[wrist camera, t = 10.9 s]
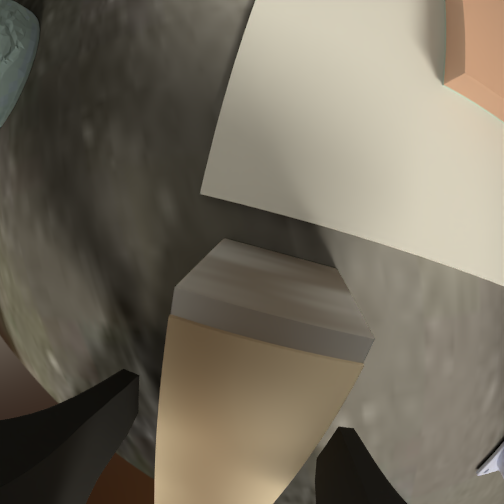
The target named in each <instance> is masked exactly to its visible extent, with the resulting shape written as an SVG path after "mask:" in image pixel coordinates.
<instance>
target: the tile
mask: <svg viewBox="0 0 504 504" xmlns="http://www.w3.org/2000/svg"><path fill="white" fill-rule="evenodd" d="M444 4H445V56H444V72H443V84H442V86H444V87H446V88H448V89H449V90H451V91H453V92H455V93H457V94H458V95H460V96H462V97H464V98H465V99H467V100H469V101H470V102H472V103H474V104H475V105H477V106H478V107H480V108H481V109H483V110H485V111H486V112H488V113H489V114H491V115H492V116H494V117H495V118H496V119H498V120H499V121H501V122H502V123H504V0H444Z"/></svg>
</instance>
